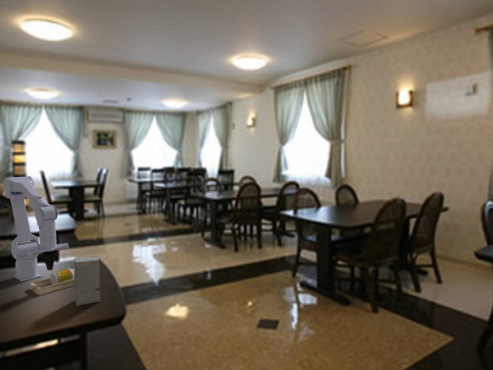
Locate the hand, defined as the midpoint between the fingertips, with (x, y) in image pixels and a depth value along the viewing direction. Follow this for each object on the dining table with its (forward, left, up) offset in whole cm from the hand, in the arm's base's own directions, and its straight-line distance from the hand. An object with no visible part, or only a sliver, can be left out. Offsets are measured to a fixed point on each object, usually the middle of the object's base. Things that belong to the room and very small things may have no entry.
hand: (49, 269), depth 136 cm
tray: (0, +4, -7) cm, 8 cm away
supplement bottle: (0, +1, -5) cm, 5 cm away
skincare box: (+24, +4, -8) cm, 25 cm away
